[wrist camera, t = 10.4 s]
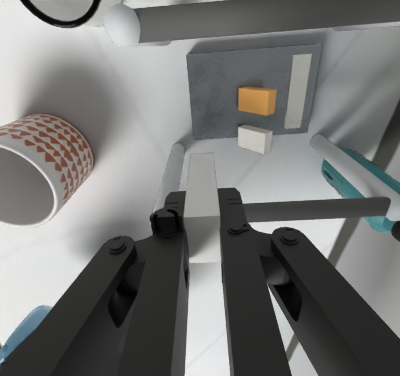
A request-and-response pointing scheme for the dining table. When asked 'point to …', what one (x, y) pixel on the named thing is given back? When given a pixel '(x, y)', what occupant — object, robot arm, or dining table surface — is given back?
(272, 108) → the amber brick
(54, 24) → the mug
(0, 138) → the planter
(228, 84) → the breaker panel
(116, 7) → the cord rack
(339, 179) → the beverage bottle
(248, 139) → the off-white eraser brick
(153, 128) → the dining table surface
